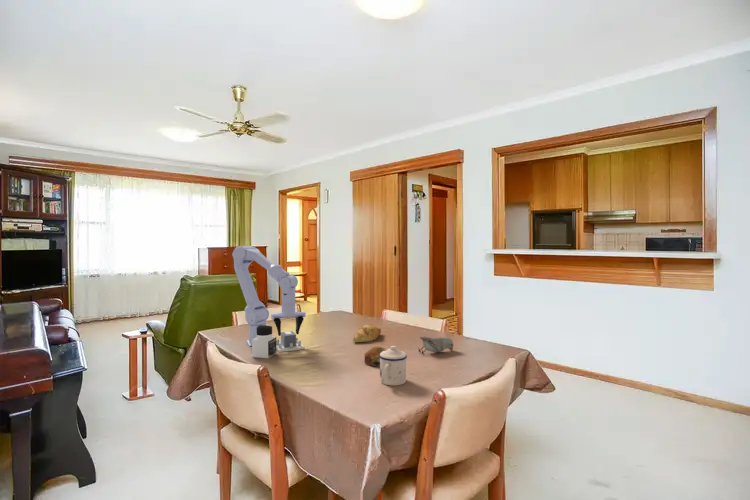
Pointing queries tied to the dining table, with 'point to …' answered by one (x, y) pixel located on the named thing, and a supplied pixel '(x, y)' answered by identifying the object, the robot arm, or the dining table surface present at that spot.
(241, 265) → the robot arm
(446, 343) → the decorative bird
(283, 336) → the block
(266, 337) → the medicine bottle
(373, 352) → the bread roll
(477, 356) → the dining table surface
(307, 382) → the dining table surface
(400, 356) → the teacup with lid
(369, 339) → the croissant
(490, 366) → the dining table surface
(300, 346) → the white peg board
